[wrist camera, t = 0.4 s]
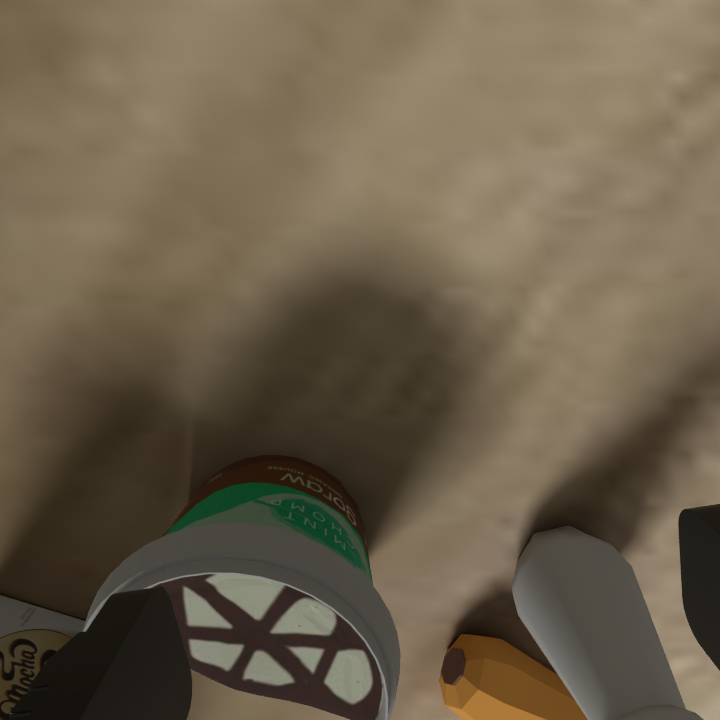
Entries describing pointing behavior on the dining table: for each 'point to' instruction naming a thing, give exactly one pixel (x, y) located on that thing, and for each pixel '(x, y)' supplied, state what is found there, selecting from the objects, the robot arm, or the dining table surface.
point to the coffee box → (28, 646)
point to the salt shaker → (595, 627)
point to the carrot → (502, 683)
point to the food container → (274, 589)
